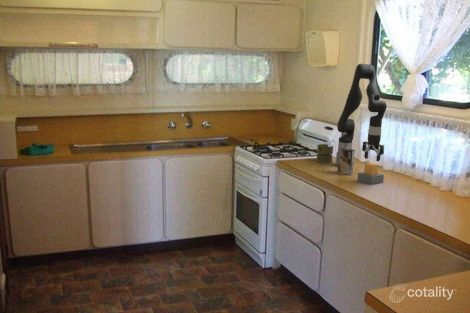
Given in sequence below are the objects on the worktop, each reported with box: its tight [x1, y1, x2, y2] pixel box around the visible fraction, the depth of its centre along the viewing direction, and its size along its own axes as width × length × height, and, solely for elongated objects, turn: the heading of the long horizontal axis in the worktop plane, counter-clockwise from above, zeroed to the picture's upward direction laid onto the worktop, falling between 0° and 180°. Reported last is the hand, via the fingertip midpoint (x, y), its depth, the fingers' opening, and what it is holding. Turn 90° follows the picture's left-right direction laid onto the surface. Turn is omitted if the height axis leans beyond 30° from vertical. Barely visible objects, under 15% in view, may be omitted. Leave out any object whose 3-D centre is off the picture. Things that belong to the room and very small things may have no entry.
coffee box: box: [337, 148, 355, 176], centre depth 317 cm, size 9×6×16 cm
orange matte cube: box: [363, 162, 379, 175], centre depth 297 cm, size 6×6×6 cm
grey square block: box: [356, 171, 385, 186], centre depth 298 cm, size 11×11×6 cm
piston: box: [316, 143, 334, 164], centre depth 353 cm, size 11×12×11 cm
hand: (371, 159), depth 296 cm, fingers open, 8 cm apart
